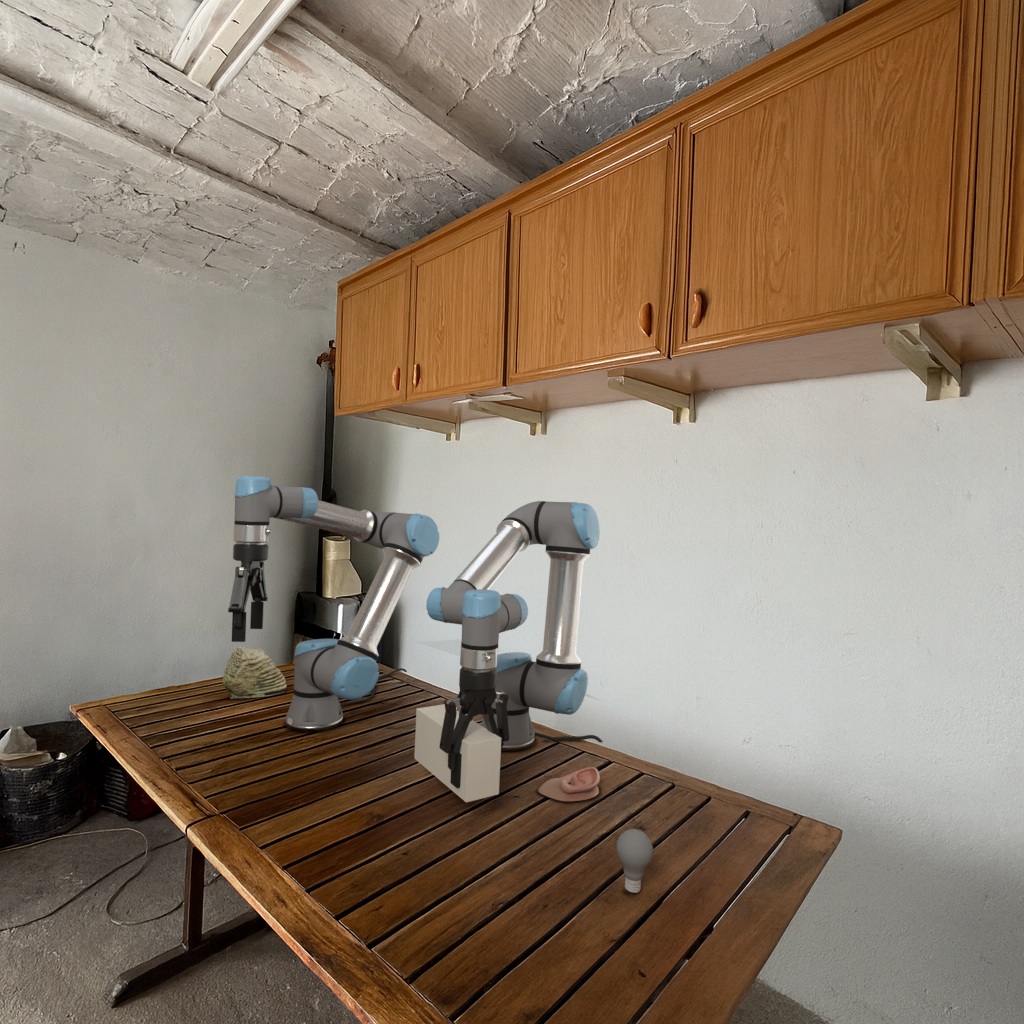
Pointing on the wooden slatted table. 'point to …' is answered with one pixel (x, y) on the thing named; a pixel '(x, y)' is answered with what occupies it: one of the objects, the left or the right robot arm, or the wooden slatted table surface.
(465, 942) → the wooden slatted table surface
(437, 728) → the box
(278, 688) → the fossil
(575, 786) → the anatomical model
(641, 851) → the light bulb
